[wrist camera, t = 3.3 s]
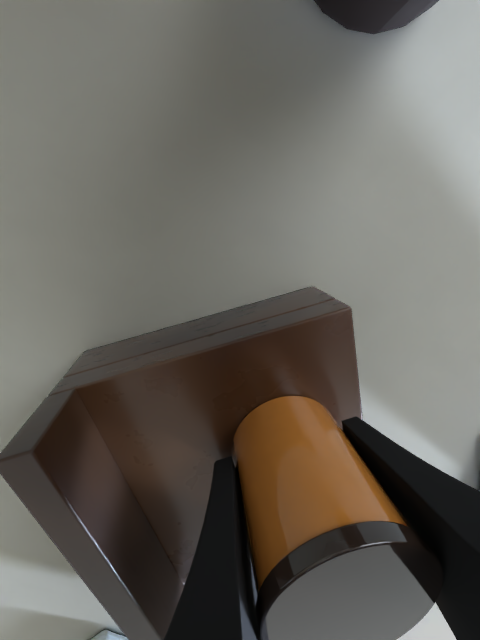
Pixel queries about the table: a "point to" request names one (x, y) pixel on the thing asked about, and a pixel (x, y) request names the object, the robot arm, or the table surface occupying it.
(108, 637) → the hard drive
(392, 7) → the vinegar
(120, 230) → the table surface
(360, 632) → the ochre jar
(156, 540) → the spice shelf
